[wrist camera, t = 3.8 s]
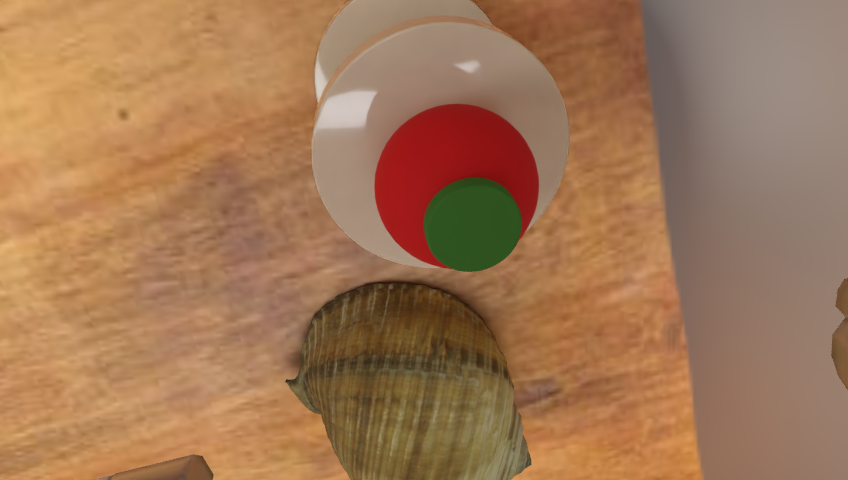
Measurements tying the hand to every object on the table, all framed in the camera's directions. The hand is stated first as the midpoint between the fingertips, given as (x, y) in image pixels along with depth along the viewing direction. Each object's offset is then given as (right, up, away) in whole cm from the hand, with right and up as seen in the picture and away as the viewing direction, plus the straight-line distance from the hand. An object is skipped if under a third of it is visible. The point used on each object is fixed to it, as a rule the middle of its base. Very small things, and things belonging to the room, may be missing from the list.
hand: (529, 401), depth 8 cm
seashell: (-2, -3, +19) cm, 19 cm away
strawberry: (-1, +4, +7) cm, 8 cm away
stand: (-2, +7, +13) cm, 15 cm away
